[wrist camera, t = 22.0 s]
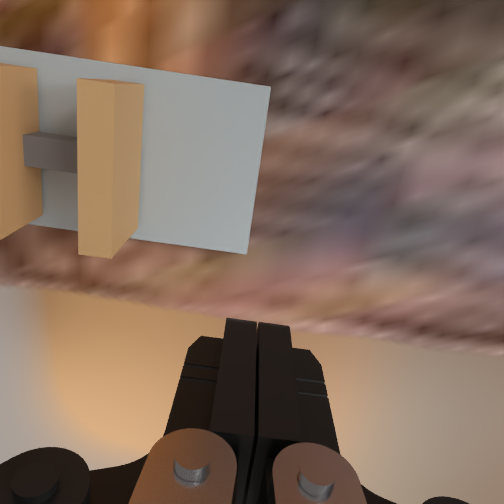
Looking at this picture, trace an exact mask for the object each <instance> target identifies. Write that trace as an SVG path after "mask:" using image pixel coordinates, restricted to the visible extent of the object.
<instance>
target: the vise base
mask: <svg viewBox="0 0 504 504" xmlns="http://www.w3.org/2000/svg"><path fill="white" fill-rule="evenodd" d="M0 63H5V64H12V65H19V66H25V67H32V68H37V85H38V109H39V132H44V133H51V134H58V135H65V136H72V137H77V78H85V79H109V80H119V81H126V82H132V83H139V84H144V103H143V126H142V148H141V171H140V193H139V216H138V229H137V230H136V231H135V232H134V233H133V234H132V236H131V237H130V238H132V239H139V240H146V241H153V242H161V243H168V244H175V245H182V246H190V247H197V248H204V249H211V250H219V251H226V252H233V253H240V254H247V249H248V242H249V235H250V228H251V221H252V215H253V208H254V201H255V194H256V187H257V180H258V173H259V167H260V160H261V153H262V146H263V139H264V132H265V125H266V119H267V112H268V105H269V98H270V91H271V87H269V86H263V85H256V84H249V83H243V82H236V81H230V80H223V79H216V78H210V77H203V76H196V75H190V74H183V73H176V72H170V71H163V70H156V69H150V68H143V67H136V66H130V65H123V64H116V63H110V62H103V61H97V60H90V59H83V58H77V57H70V56H63V55H57V54H50V53H43V52H37V51H30V50H23V49H17V48H10V47H3V46H0ZM41 183H42V207H43V215H42V216H40V217H39V218H37V219H35V220H33V221H32V222H30V223H28V224H30V225H38V226H45V227H52V228H59V229H67V230H74V231H78V174H77V173H70V172H63V171H56V170H49V169H42V168H41Z"/></svg>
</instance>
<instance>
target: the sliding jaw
mask: <svg viewBox="0 0 504 504" xmlns="http://www.w3.org/2000/svg"><path fill="white" fill-rule="evenodd" d="M143 103H144V84H139V83H132V82H126V81H119V80H109V79H85V78H77V137H72V136H65V135H58V134H51V133H44V132H39V109H38V85H37V68H32V67H25V66H19V65H12V64H5V63H0V240H1V239H3V238H5V237H6V236H8V235H10V234H11V233H13V232H15V231H16V230H18V229H20V228H22V227H23V226H25V225H27V224H28V223H30V222H32V221H33V220H35V219H37V218H39V217H40V216H42V215H43V207H42V183H41V168H42V169H49V170H56V171H63V172H70V173H77V174H78V254H80V255H87V256H94V257H102V258H109V259H112V257H113V256H114V255H115V254H116V253H117V252H118V251H119V249H120V248H121V247H122V246H123V245H124V244H125V242H126V241H127V240H128V239H129V238H130V237H131V236H132V234H133V233H134V232H135V231H136V230H137V229H138V216H139V193H140V171H141V148H142V126H143Z"/></svg>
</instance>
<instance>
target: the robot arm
mask: <svg viewBox="0 0 504 504" xmlns="http://www.w3.org/2000/svg"><path fill="white" fill-rule="evenodd" d="M324 382H325V380H324V376H323V371H322V366H321V364H320V363H319V361H318V360H317V359H316V358H315V356H314V355H313V354H312V353H311V351H310V350H305V349H298V348H292V342H291V333H290V327H289V326H285V325H278V324H270V323H263V322H259V323H258V327H257V322H255V321H247V320H240V319H232V318H226V325H225V332H224V338H223V339H221V338H213V337H206V336H201V337H199V338H198V339H197V340H196V341H195V342H194V343H193V344H192V345H191V346H190V347H189V348H188V351H187V355H186V359H185V362H184V366H183V369H182V373H181V376H180V380H179V383H178V387H177V391H176V394H175V398H174V401H173V405H172V409H171V412H170V415H169V419H168V423H167V426H166V430H165V433H164V435H163V437H162V438H161V439H160V440H158V441H157V442H156V443H155V445H154V446H153V447H152V449H151V450H150V452H149V453H148V454H147V455H145V456H144V457H142V458H140V459H138V460H136V461H134V462H131V463H129V464H125V465H121V466H116V467H110V468H104V469H98V470H92V471H89V468H88V466H87V464H86V462H85V461H84V459H83V458H81V457H80V456H79V455H78V454H76V453H74V452H72V451H70V450H67V449H64V448H58V447H45V448H38V449H34V450H30V451H27V452H24V453H21V454H20V455H17V456H15V457H13V458H11V459H9V460H8V461H5V462H3V463H2V464H0V504H396V503H394V502H391V501H389V500H387V499H384V498H382V497H380V496H378V495H376V494H374V493H372V492H371V491H369V490H368V489H366V488H365V487H364V486H363V485H361V484H360V481H359V478H358V476H357V474H356V472H355V470H354V469H353V467H352V466H351V465H350V464H349V462H348V461H347V460H346V459H345V458H344V457H342V456H341V455H340V451H339V446H338V442H337V437H336V432H335V427H334V423H333V418H332V413H331V409H330V404H329V399H328V398H327V390H326V385H325V384H324ZM423 504H469V503H467V502H464V501H462V500H459V499H456V498H451V497H442V496H441V497H434V498H430V499H428V500H427V501H425V502H424V503H423Z"/></svg>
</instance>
